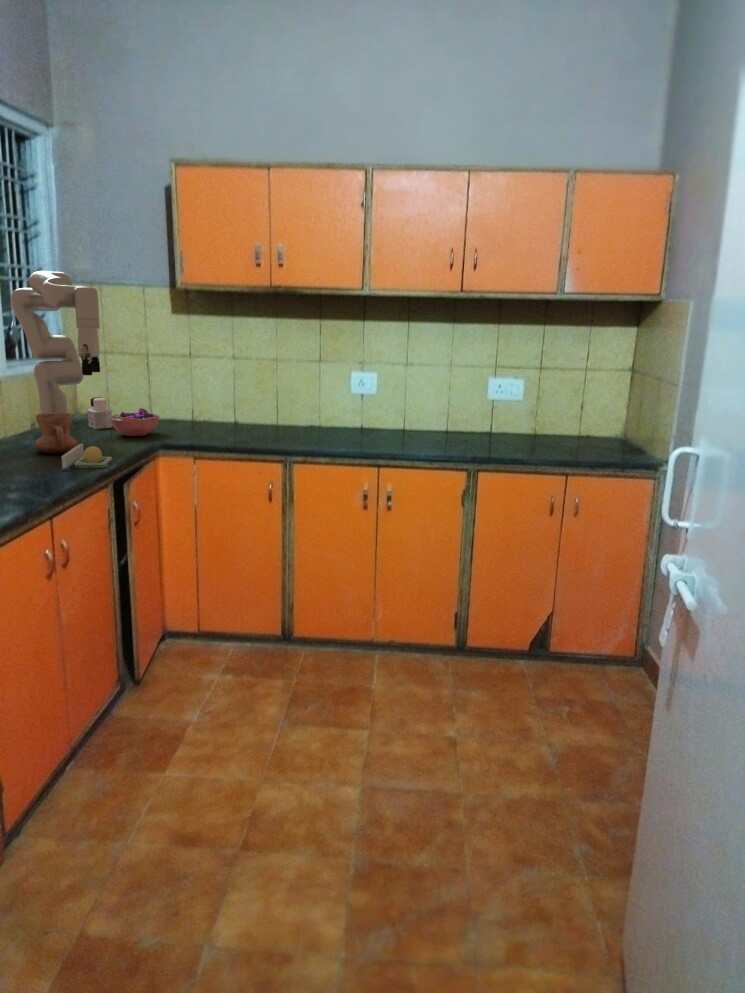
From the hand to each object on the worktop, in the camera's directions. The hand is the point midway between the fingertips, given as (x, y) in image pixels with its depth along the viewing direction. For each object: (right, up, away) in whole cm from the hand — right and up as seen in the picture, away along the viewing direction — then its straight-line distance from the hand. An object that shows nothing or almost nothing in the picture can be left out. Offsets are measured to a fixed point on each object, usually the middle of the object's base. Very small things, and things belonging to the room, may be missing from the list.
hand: (91, 373), depth 242 cm
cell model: (-1, -18, +47) cm, 51 cm away
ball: (+2, -29, -4) cm, 29 cm away
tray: (+2, -32, -3) cm, 33 cm away
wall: (-5, -32, -3) cm, 33 cm away
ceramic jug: (-18, -27, +13) cm, 35 cm away
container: (-21, -13, +61) cm, 66 cm away
